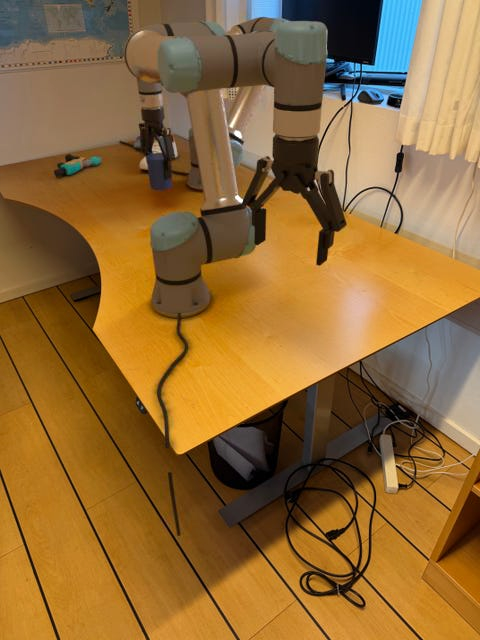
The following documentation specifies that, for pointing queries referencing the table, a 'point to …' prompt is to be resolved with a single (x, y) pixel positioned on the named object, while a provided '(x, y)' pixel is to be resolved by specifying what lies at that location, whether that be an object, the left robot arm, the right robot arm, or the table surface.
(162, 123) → the right robot arm
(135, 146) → the toy gun
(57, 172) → the toy gun
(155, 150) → the sneaker
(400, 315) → the table surface
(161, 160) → the can
